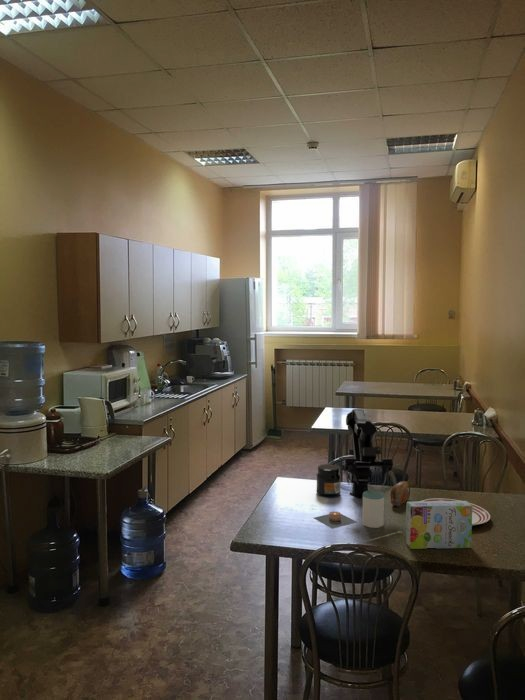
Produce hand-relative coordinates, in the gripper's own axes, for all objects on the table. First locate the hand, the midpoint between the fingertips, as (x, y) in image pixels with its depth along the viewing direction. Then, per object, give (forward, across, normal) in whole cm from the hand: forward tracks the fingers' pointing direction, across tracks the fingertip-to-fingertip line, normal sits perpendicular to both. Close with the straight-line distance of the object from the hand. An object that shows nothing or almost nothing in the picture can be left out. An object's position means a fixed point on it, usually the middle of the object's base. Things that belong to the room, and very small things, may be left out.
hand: (370, 483), depth 218 cm
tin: (-2, +15, +22) cm, 27 cm away
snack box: (+27, +20, -8) cm, 34 cm away
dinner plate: (+8, +32, +11) cm, 35 cm away
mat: (+12, -14, +6) cm, 20 cm away
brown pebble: (+12, -14, +6) cm, 19 cm away
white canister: (+15, 0, +4) cm, 15 cm away
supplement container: (-9, -14, +28) cm, 33 cm away
